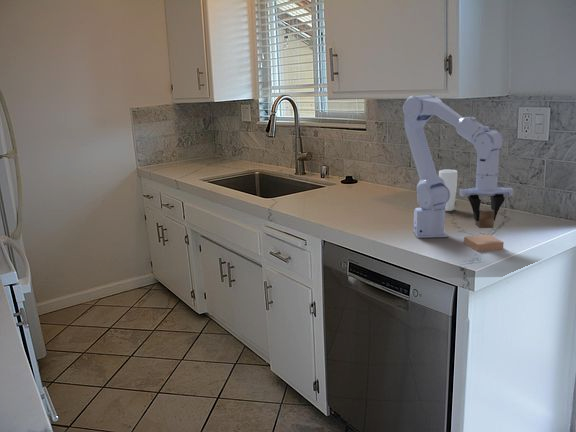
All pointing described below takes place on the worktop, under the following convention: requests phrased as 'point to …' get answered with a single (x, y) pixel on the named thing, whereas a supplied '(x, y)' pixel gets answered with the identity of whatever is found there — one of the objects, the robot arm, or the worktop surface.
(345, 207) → the worktop surface
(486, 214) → the walnut block
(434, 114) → the robot arm
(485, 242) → the terracotta tile
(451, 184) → the drinking glass
